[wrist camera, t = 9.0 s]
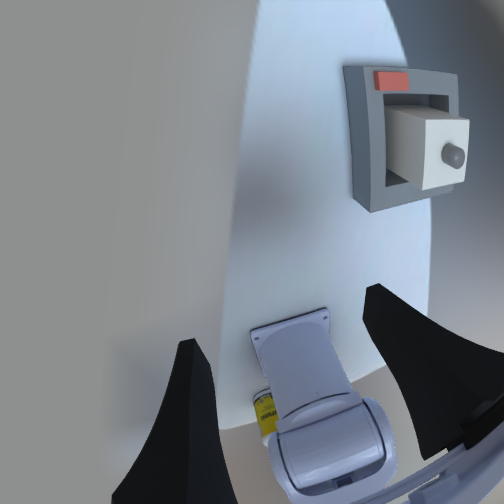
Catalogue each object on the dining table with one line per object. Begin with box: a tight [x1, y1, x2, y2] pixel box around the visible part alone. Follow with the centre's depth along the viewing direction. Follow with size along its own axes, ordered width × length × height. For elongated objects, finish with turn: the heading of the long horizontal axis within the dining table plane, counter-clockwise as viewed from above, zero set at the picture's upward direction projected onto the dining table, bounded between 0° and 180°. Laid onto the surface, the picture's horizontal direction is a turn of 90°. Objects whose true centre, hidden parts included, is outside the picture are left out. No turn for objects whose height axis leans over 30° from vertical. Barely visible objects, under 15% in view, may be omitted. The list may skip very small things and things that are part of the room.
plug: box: [384, 105, 469, 190], centre depth 15 cm, size 4×4×6 cm
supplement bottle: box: [253, 389, 279, 447], centre depth 32 cm, size 5×5×10 cm
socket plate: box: [343, 66, 458, 213], centre depth 17 cm, size 10×9×3 cm
